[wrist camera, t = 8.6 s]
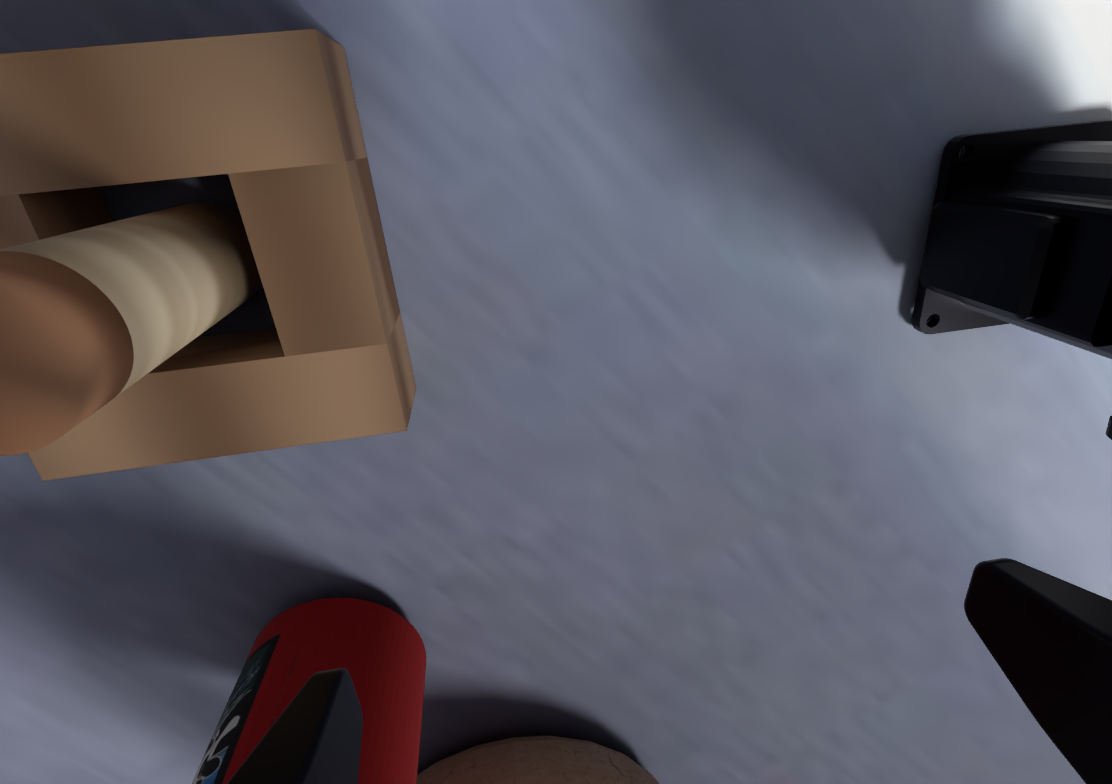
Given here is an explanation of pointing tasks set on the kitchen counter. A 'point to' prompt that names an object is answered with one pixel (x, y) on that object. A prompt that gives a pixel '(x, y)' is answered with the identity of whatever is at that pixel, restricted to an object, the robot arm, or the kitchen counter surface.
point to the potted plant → (537, 764)
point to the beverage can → (323, 644)
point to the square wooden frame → (269, 219)
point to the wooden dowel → (110, 311)
